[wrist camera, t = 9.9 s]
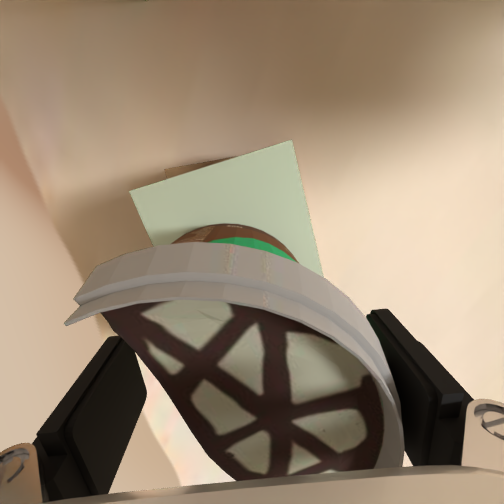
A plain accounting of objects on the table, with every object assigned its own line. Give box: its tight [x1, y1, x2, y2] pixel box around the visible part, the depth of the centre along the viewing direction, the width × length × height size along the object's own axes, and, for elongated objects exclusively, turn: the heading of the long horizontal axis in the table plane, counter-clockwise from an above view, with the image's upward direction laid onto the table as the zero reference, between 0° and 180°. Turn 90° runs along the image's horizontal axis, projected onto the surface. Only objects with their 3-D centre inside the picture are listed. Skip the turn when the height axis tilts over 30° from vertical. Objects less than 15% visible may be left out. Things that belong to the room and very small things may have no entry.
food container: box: [64, 223, 405, 481], centre depth 12 cm, size 12×6×10 cm, turn 28°
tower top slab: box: [129, 140, 324, 277], centre depth 19 cm, size 9×15×5 cm, turn 17°
